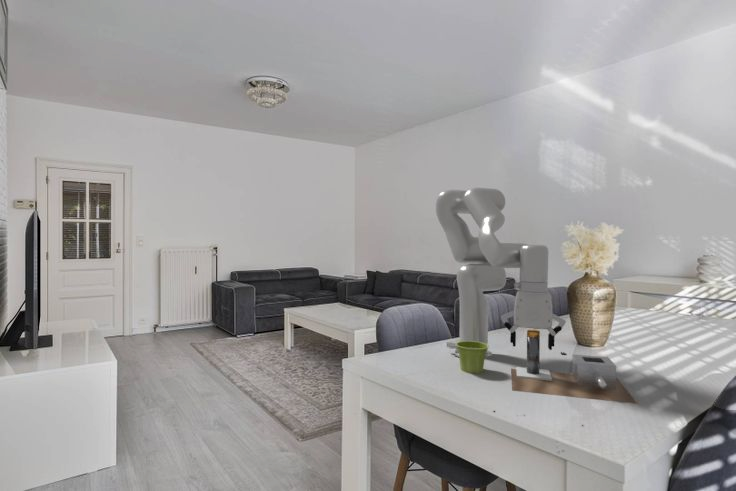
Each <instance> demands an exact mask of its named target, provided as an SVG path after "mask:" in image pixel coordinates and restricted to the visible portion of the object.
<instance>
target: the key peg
mask: <svg viewBox="0 0 736 491" xmlns="http://www.w3.org/2000/svg"><path fill="white" fill-rule="evenodd" d="M540 332H541V331H540V329H526V368H527V373H529V374H539V370H540V369H541V368H540V363H541V362H540V348H541V345H540V344H541V342H540V338H541V337H540V336H541V334H540Z"/></svg>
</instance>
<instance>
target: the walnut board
mask: <svg viewBox="0 0 736 491" xmlns="http://www.w3.org/2000/svg"><path fill="white" fill-rule="evenodd" d="M549 372H550V375H551V377H552V381H549V380H538V379H528V378H517V372H516V368H510V373H511V374H510V376H511V390H512V391H514V392H523V393H531V394H539V395H540V394H543V395H550V396H551V395H552V396H553V395H554V396H560V397H569V398H571V397H572V398H580V399H588V400H596V401H597V400H598V401H609V402H617V403H627V404H635V405H636V404H637V405H638V404H639V402H638V401H637V400H636V399H635V398H634V396H632V394H631V393H630V392H629V391H628V390H627V388H626V387H625V386H624V385H623V384H622V382H621V381H620V380H619V379H618V378H617V377H616V389H608V388H605V389H602V388H598V387H588V386H578V385H577V384H576V382H575V380H574V378H573V376H572V373H565V372H555V371H553V372H552V371H549Z"/></svg>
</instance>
